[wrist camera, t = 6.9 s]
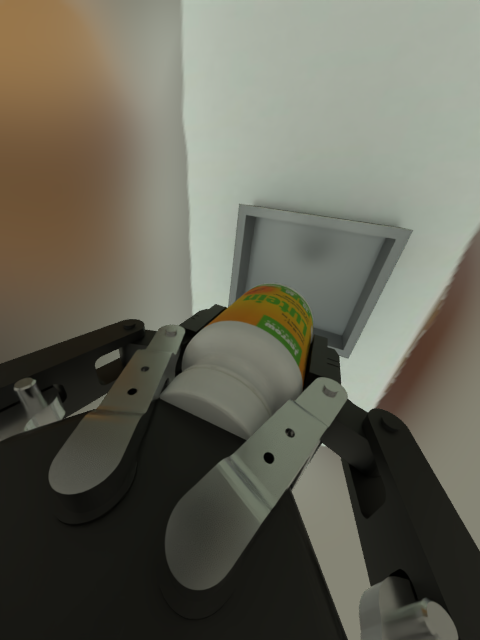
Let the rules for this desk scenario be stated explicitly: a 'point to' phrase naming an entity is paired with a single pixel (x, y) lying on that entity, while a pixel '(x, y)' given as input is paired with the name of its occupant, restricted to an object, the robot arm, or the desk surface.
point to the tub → (318, 265)
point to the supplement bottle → (246, 360)
